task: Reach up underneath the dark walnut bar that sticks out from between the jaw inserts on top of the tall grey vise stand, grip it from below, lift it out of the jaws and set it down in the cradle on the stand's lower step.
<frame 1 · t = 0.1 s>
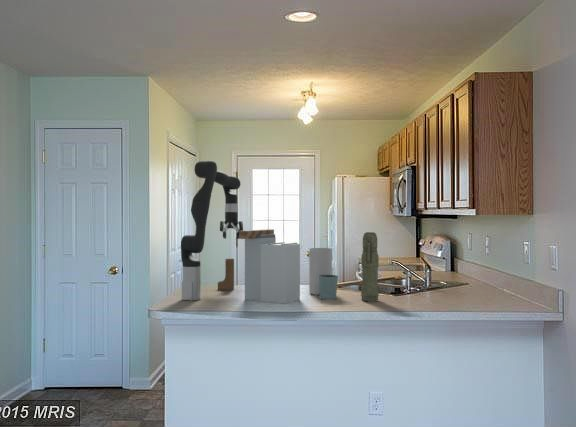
hand: (231, 238, 336), 29 cm above the counter, fingers open, 8 cm apart
cylinder vase: (320, 294, 315), on the counter
thermos: (369, 300, 291), on the counter
vise stand: (260, 298, 298), on the counter
teal cup: (328, 298, 299), on the counter
walnut bar: (257, 237, 295), point 32 cm above the counter, touching vise stand
wooden block: (225, 289, 330), on the counter
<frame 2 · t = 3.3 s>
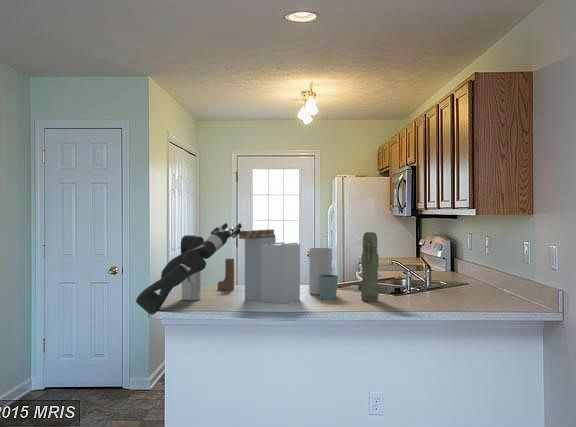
hand: (233, 224, 278), 39 cm above the counter, fingers open, 8 cm apart
nothing on the counter moved.
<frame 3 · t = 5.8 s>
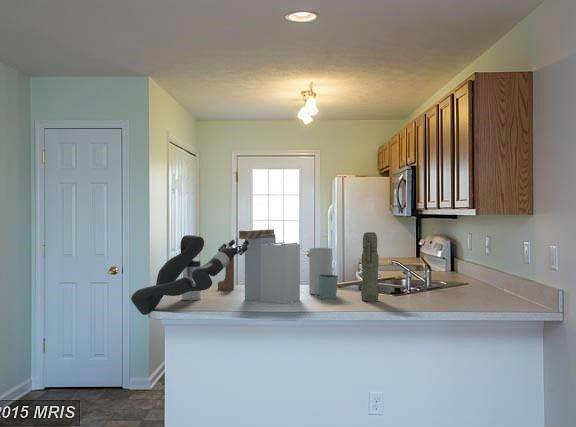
hand: (240, 241, 281), 31 cm above the counter, fingers open, 8 cm apart
nothing on the counter moved.
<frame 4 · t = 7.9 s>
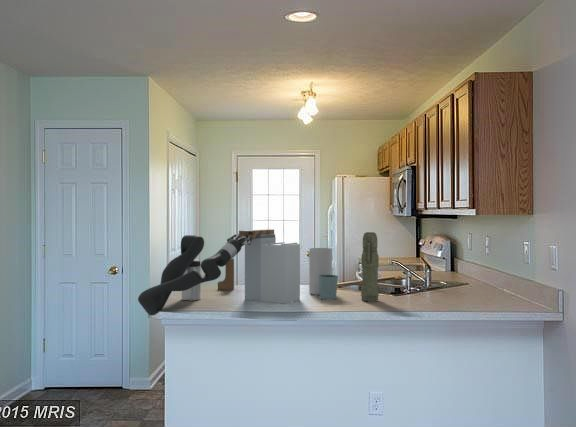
hand: (248, 232, 288), 35 cm above the counter, fingers closed on walnut bar, 4 cm apart
walnut bar: (257, 237, 295), point 32 cm above the counter, touching gripper, vise stand
everything else where it was.
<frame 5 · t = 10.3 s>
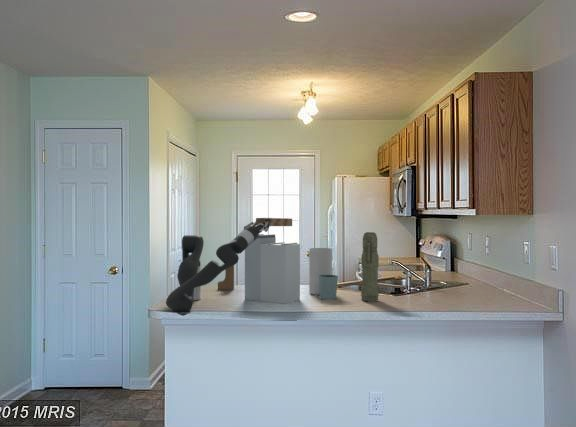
hand: (265, 219, 281), 42 cm above the counter, fingers closed on walnut bar, 4 cm apart
walnut bar: (274, 226, 288), point 38 cm above the counter, touching gripper
everything else where it was.
when the fingers open (34 cm above the counter, at t = 12.8 s): walnut bar drops 2 cm, resting on vise stand.
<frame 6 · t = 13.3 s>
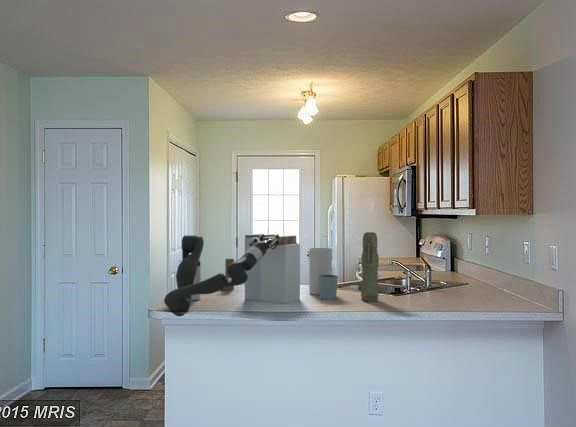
hand: (271, 235, 281), 34 cm above the counter, fingers open, 8 cm apart
walnut bar: (280, 244, 288), point 29 cm above the counter, touching vise stand
everything else where it was.
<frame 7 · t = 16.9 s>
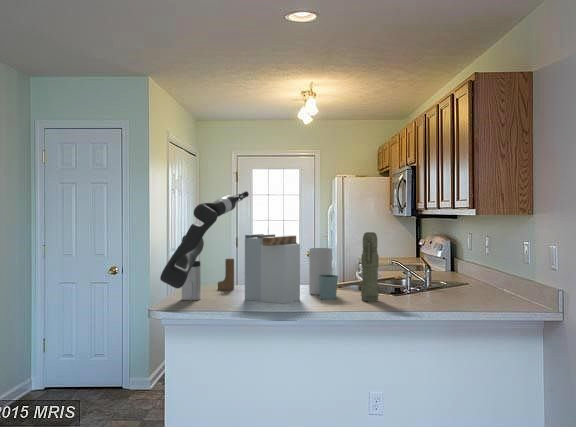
hand: (240, 196, 279), 53 cm above the counter, fingers open, 8 cm apart
nothing on the counter moved.
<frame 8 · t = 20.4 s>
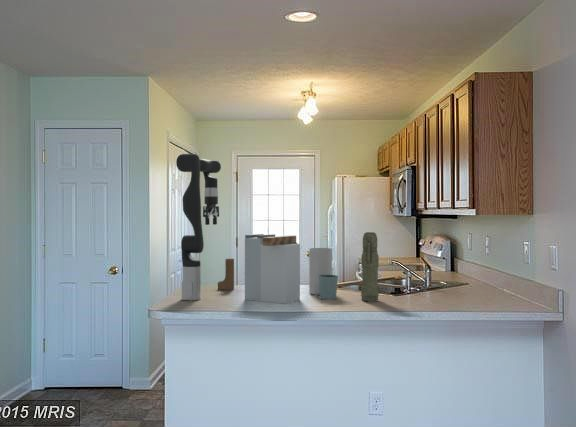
hand: (211, 224, 320), 38 cm above the counter, fingers open, 8 cm apart
nothing on the counter moved.
at the end: walnut bar inside the target area on the vise stand (0.6 cm from its centre), point 29.0 cm above the vise stand's base; the gripper is holding nothing; walnut bar tilted 0° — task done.
